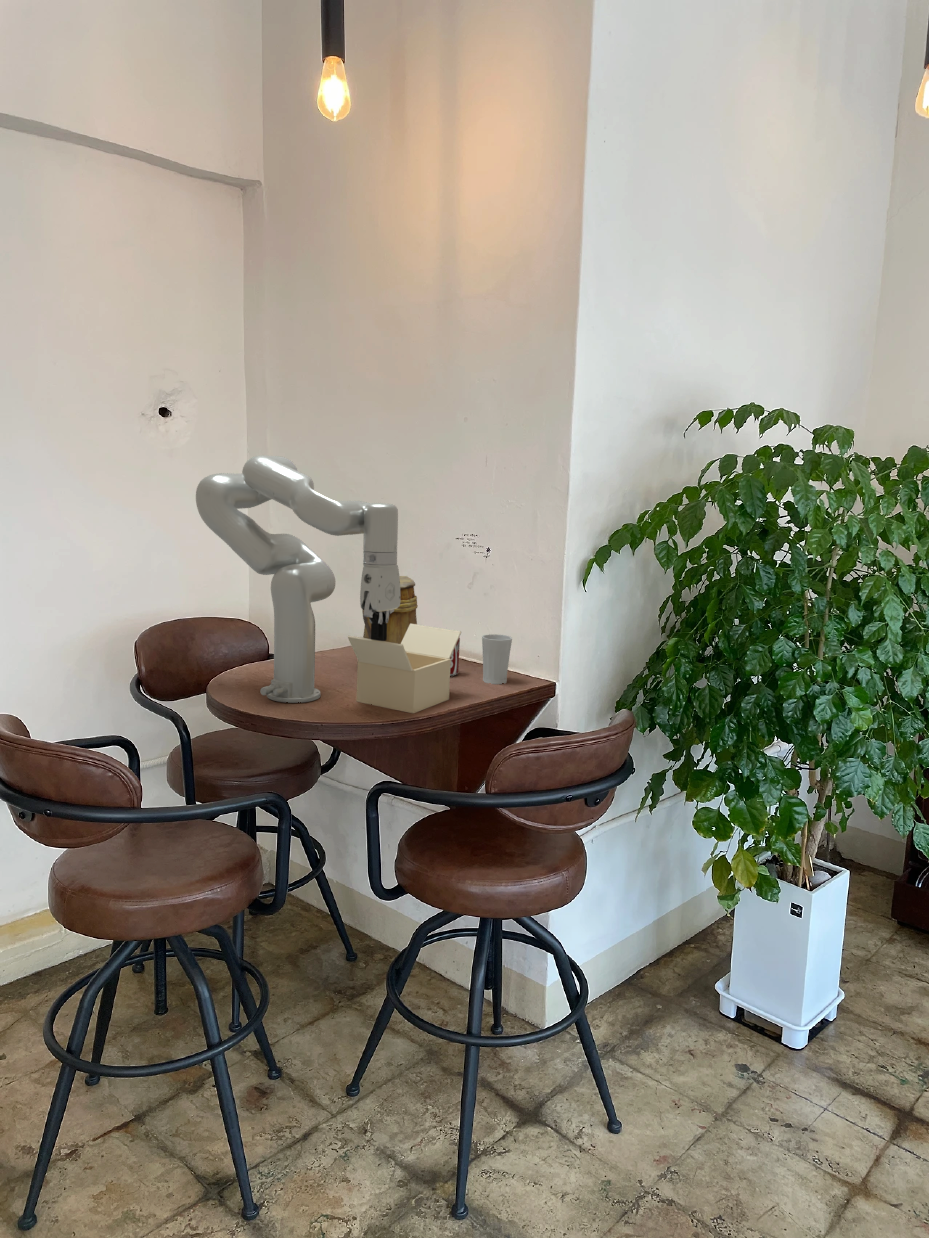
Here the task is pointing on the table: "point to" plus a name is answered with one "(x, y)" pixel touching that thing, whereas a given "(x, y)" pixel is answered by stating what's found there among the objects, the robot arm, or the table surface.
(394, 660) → the front flap
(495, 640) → the cup
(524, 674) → the table surface
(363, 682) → the carton
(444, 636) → the back flap
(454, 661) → the soda can
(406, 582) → the tankard
